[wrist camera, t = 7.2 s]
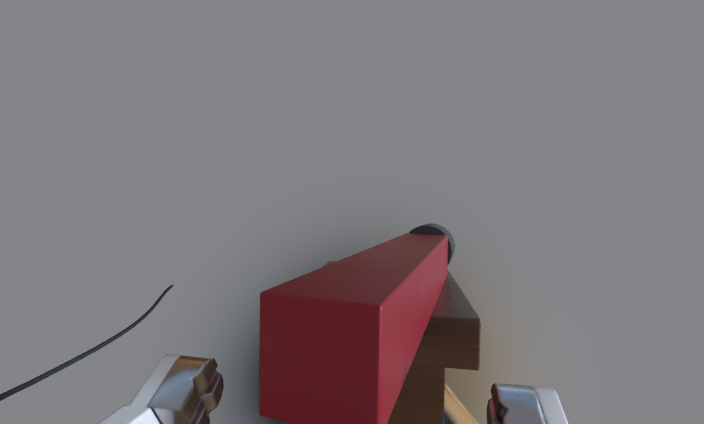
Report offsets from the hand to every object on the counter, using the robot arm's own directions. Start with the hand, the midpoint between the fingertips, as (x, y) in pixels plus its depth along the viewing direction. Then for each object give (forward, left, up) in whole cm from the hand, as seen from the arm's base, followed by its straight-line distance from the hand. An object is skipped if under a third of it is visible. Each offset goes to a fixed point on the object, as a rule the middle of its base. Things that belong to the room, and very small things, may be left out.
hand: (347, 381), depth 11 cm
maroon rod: (-5, +7, 0) cm, 8 cm away
